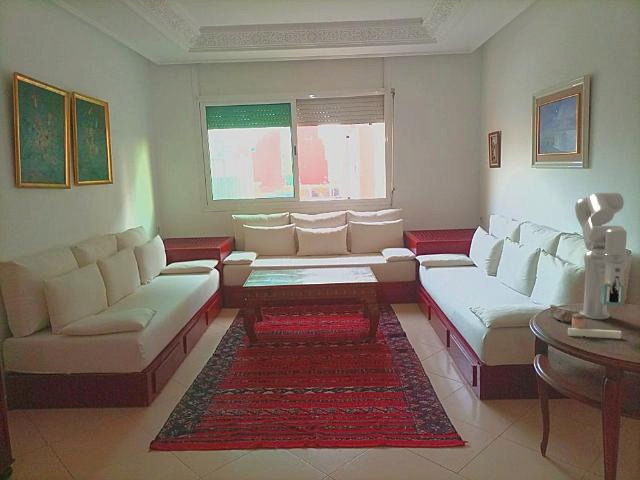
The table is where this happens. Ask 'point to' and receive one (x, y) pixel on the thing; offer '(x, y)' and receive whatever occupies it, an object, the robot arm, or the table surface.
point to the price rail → (594, 333)
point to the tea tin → (606, 294)
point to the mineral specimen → (562, 313)
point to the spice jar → (578, 321)
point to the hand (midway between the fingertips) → (611, 299)
